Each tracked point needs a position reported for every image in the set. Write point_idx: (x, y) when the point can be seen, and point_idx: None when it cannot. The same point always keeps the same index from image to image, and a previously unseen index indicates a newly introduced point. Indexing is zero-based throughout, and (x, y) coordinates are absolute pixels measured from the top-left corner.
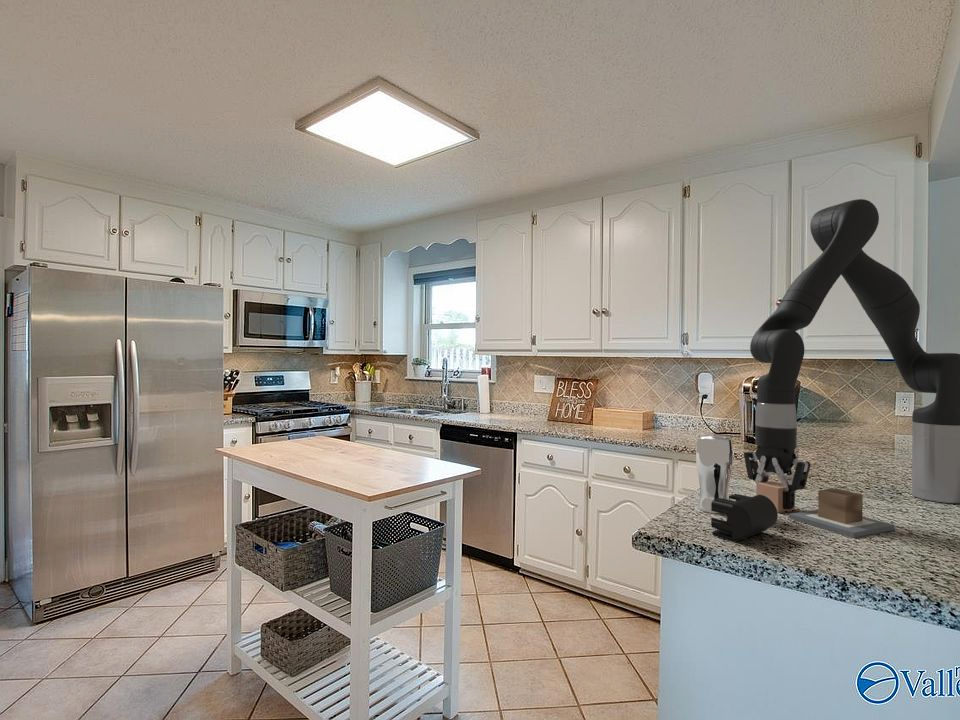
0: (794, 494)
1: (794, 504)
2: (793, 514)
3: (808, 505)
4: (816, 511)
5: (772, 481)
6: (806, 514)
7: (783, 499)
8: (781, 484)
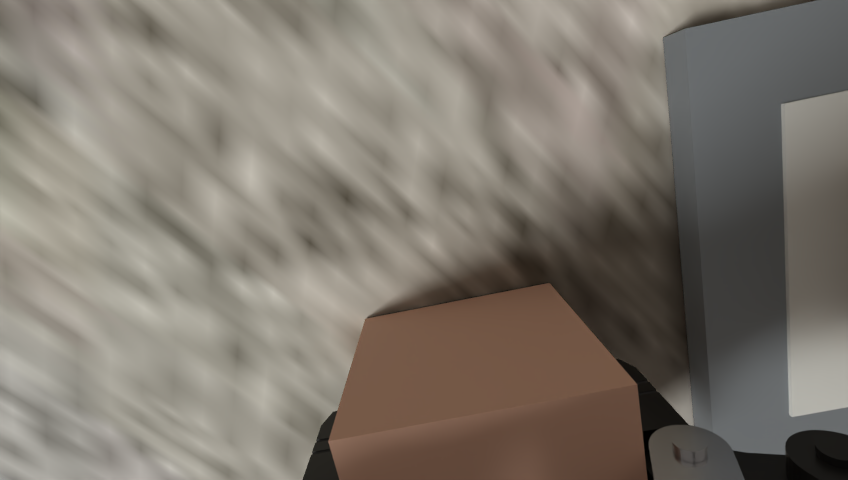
0: (684, 424)
1: (635, 369)
2: None
3: (442, 33)
4: (735, 244)
5: (346, 458)
6: (770, 386)
7: None
8: (517, 471)
